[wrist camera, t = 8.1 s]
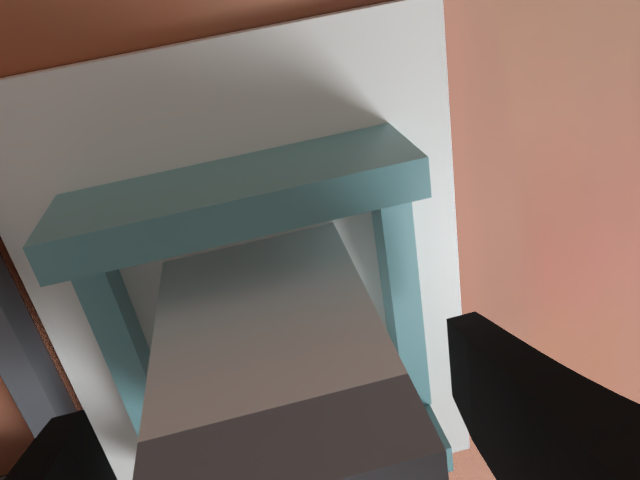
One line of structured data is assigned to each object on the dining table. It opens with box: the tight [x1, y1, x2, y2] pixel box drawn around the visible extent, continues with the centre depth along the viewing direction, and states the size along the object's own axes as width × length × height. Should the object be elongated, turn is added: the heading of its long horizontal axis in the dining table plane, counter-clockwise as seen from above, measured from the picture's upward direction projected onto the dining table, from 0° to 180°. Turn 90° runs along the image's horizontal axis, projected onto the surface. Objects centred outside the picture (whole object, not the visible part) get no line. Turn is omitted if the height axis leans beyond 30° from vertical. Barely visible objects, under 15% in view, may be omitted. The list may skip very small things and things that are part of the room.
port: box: [0, 0, 470, 480], centre depth 13 cm, size 10×13×3 cm
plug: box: [132, 223, 449, 480], centre depth 11 cm, size 4×4×7 cm
